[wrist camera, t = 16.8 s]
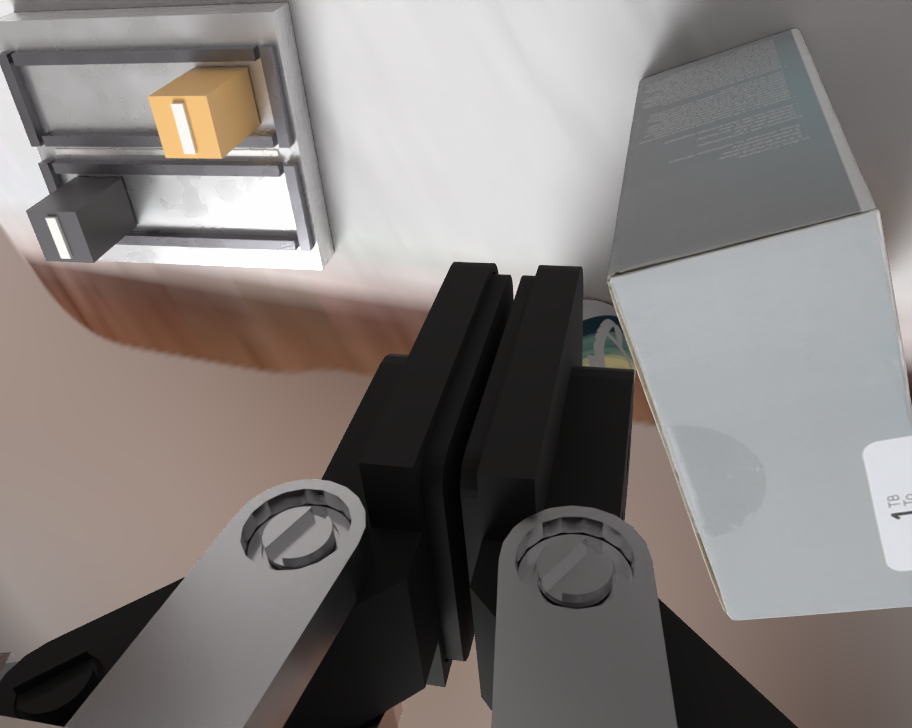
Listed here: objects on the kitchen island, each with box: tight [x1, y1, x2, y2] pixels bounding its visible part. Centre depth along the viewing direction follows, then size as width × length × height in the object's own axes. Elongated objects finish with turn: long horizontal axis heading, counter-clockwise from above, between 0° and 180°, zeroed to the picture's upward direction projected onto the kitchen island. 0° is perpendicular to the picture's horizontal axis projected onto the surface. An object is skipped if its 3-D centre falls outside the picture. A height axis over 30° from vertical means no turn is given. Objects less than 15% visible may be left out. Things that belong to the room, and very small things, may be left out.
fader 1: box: [26, 177, 137, 263], centre depth 47 cm, size 3×3×5 cm
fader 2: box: [148, 67, 260, 159], centre depth 41 cm, size 3×3×5 cm
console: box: [0, 2, 334, 270], centre depth 46 cm, size 14×16×3 cm
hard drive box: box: [607, 28, 912, 620], centre depth 34 cm, size 16×8×20 cm, turn 23°
